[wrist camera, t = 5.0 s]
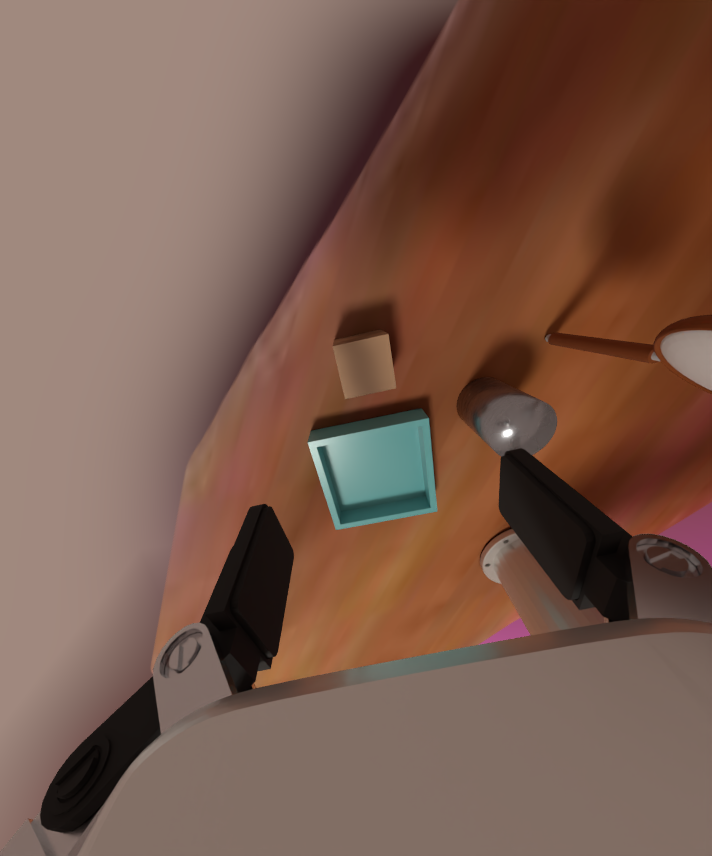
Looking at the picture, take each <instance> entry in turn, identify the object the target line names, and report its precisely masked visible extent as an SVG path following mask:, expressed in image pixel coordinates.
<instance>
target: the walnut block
mask: <svg viewBox="0 0 712 856" xmlns="http://www.w3.org/2000/svg"><path fill="white" fill-rule="evenodd" d="M333 350H334V354H335V359H336V363H337V367H338V371H339V375H340V380H341V384H342V388H343V392H344V396H345V399H348V398H353V397H357V396H362V395H367V394H371V393H376V392H381V391H386V390H390V389H395V388H396V382H395V376H394V369H393V362H392V355H391V348H390V341H389V334H388V333H386V332H385V331H383V330H382V329H380V330H376V331H371V332H367V333H362V334H358V335H353V336H349V337H344V338H340V339H335V340H334V343H333Z"/></svg>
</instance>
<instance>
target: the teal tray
mask: <svg viewBox="0 0 712 856" xmlns="http://www.w3.org/2000/svg"><path fill="white" fill-rule="evenodd" d="M308 445H309V448H310V451H311V454H312V457H313V460H314V464H315V467H316V470H317V473H318V476H319V479H320V482H321V485H322V488H323V491H324V494H325V497H326V500H327V504H328V507H329V510H330V513H331V516H332V519H333V522H334V525H335V528H336V530H339V529H344V528H350V527H355V526H361V525H366V524H371V523H377V522H382V521H388V520H393V519H399V518H404V517H409V516H415V515H420V514H426V513H431V512H437V503H436V492H435V481H434V470H433V459H432V448H431V437H430V426H429V418H428V416H427V415H426V414H425V412H424V411H423V410H422V408H420V409H415V410H410V411H405V412H400V413H396V414H391V415H386V416H381V417H376V418H371V419H366V420H361V421H356V422H352V423H347V424H342V425H337V426H332V427H327V428H322V429H317V430H312V431H311V432H310V436H309V439H308Z"/></svg>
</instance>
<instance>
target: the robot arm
mask: <svg viewBox="0 0 712 856" xmlns="http://www.w3.org/2000/svg"><path fill="white" fill-rule="evenodd" d="M499 510H500V512H501V514H502V516H503V517H504V519H505V520H506V521H507V522H508V524H509V525H510V526H511V528H512V529H510V530H508V531H506V532H503V533H502V534H500V535H498V536H497V537H495V538H494V539H493V540H492V541H490V542H489V544H488V545H487V546H486V547H485V549H484V550H483V552H482V555H481V558H480V564H481V568H482V569H483V571H484V573H485V575H486V576H487V577H488V578H489V579H491V580H492V581H494V582H497V583H501V584H502V585H503V587H504V589H505V591H506V593H507V594H508V596H509V598H510V600H511V601H512V603H513V605H514V607H515V608H516V610H517V612H518V614H519V616H520V617H521V619H522V621H523V623H524V624H525V626H526V628H527V630H528V631H529V633H530V635H531V636H526V637H520V638H515V639H509V640H503V641H498V642H493V643H487V644H482V645H476V646H471V647H465V648H460V649H454V650H449V651H444V652H438V653H433V654H428V655H422V656H417V657H412V658H406V659H401V660H396V661H390V662H385V663H380V664H374V665H369V666H364V667H359V668H354V669H349V670H343V671H338V672H333V673H328V674H323V675H317V676H312V677H307V678H302V679H297V680H293V681H288V682H283V683H279V684H274V685H269V686H265V687H260V688H256V686H255V684H254V682H255V680H256V676H257V671H262V670H267V669H271V664H272V659H273V657H275V656H276V655H277V652H278V648H279V642H280V636H281V630H282V624H283V618H284V613H285V607H286V601H287V595H288V589H289V583H290V577H291V571H292V565H293V559H294V553H293V549H292V547H291V545H290V543H289V541H288V539H287V537H286V535H285V533H284V531H283V529H282V527H281V525H280V523H279V521H278V519H277V517H276V515H275V513H274V511H273V509H272V507H270V506H269V507H268V506H267V505H266V504H262V505H257V506H252V507H250V509H249V511H248V513H247V515H246V518H245V520H244V522H243V525H242V527H241V530H240V532H239V534H238V537H237V539H236V542H235V544H234V546H233V547H232V549H231V551H230V553H229V555H228V557H227V560H226V562H225V565H224V567H223V569H222V572H221V574H220V576H219V579H218V581H217V583H216V586H215V588H214V590H213V593H212V595H211V598H210V600H209V602H208V605H207V607H206V609H205V612H204V614H203V616H202V619H201V621H200V623H193V624H190V625H188V626H186V627H184V628H183V629H181V630H180V631H178V632H177V633H176V634H175V635H174V636H173V637H172V638H171V639H170V640H169V641H168V642H167V643H166V645H165V646H164V647H163V648H162V650H161V652H160V654H159V655H158V657H157V659H156V662H155V665H154V668H153V677H152V678H150V680H148V681H147V682H146V683H145V684H144V685H143V686H142V687H141V688H140V689H139V690H138V691H137V692H136V693H135V694H134V695H132V696H131V697H130V698H129V699H128V700H127V701H126V702H125V703H124V704H123V705H122V706H121V707H120V708H119V709H117V710H116V711H115V712H114V713H113V714H112V715H111V716H110V717H109V718H108V719H107V720H106V721H105V722H104V723H103V724H101V726H99V727H98V728H97V729H96V730H95V731H94V732H93V733H92V734H91V735H90V736H89V737H88V738H87V739H86V740H84V742H82V743H81V744H80V745H79V746H78V748H77V749H76V750H75V751H74V752H73V753H72V754H71V755H70V756H69V758H68V759H67V760H66V761H65V763H64V764H63V765H62V767H61V768H60V769H59V771H58V772H57V774H56V776H55V778H54V779H53V781H52V783H51V784H50V786H49V789H48V791H47V793H46V796H45V798H44V800H43V803H42V808H41V811H40V812H39V814H38V815H37V816H36V817H35V819H34V820H32V819H27V820H26V821H25V822H24V824H23V825H22V826H21V827H20V829H19V830H18V831H17V832H16V833H15V834H14V836H13V837H12V839H10V841H9V842H8V843H7V844H6V845H5V847H4V848H3V849H2V850H1V851H0V856H712V567H711V566H710V564H709V563H708V561H707V560H706V559H705V558H704V557H703V556H701V555H700V554H699V553H698V552H696V551H695V550H693V549H692V548H690V547H688V546H687V545H685V544H683V543H681V542H678V541H676V540H674V539H671V538H668V537H665V536H660V535H655V534H639V535H636V536H633V537H632V536H631V535H630V534H629V533H627V532H626V531H625V530H624V529H622V528H621V527H620V526H619V525H617V524H616V523H615V522H614V521H613V520H611V519H610V518H609V517H608V516H606V515H605V514H604V513H603V512H601V511H600V510H599V509H598V508H597V507H595V506H594V505H593V504H592V503H590V502H589V501H588V500H587V499H585V498H584V497H583V496H582V495H580V494H579V493H578V492H577V491H576V490H574V489H573V488H572V487H571V486H569V485H568V484H567V483H566V482H564V481H563V480H562V479H560V478H559V477H558V476H557V475H555V474H554V473H553V472H552V471H551V470H549V469H548V468H547V467H546V466H544V465H543V464H542V463H541V462H539V461H538V460H537V459H536V458H535V457H533V456H532V455H531V454H530V453H528V452H527V451H526V450H525V449H523V448H519V449H515V450H510V451H506V452H505V454H504V456H502V457H501V465H500V489H499Z"/></svg>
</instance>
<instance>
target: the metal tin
mask: <svg viewBox="0 0 712 856" xmlns="http://www.w3.org/2000/svg"><path fill="white" fill-rule="evenodd" d="M457 412H458V415H459V416H460V418H461V419H462V420H463V421H464V422H465V423H466V424H467V425H468V426H469V427H470V428H471V429H472V430H473V431H474V432H475V433H476V434H478V435H479V436H480V437H481V438H482V439H483V440H484V441H485V442H486V443H487V444H488V445H489V446H490V447H491V448H492V449H493V450H494V451H495V452H496V453H497V454H499V455H500V456H504V454H505V452H506V451H510V450H515V449H519V448H523V449H525V450H526V451H527V452H528V453H530V454H531V455H533V454H535V453H536V452H538V451H539V450H541V449H542V448H543V447H544V446H545V445H546V444H547V443H548V442H549V441H550V440H551V438H552V436H553V435H554V433H555V430H556V426H557V416H556V413H555V411H554V409H553V408H552V407H551V406H550V405H549V404H547V403H545V402H543V401H541V400H539V399H537V398H535V397H533V396H531V395H529V394H526V393H524V392H522V391H520V390H518V389H516V388H514V387H512V386H510V385H508V384H506V383H504V382H502V381H499V380H497V379H495V378H491V377H484V378H479V379H476V380H474V381H472V382H471V383H469V384H468V385H467V386H466V387H465V388H464V389H463V390H462V392H461V393H460V395H459V397H458V400H457Z"/></svg>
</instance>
